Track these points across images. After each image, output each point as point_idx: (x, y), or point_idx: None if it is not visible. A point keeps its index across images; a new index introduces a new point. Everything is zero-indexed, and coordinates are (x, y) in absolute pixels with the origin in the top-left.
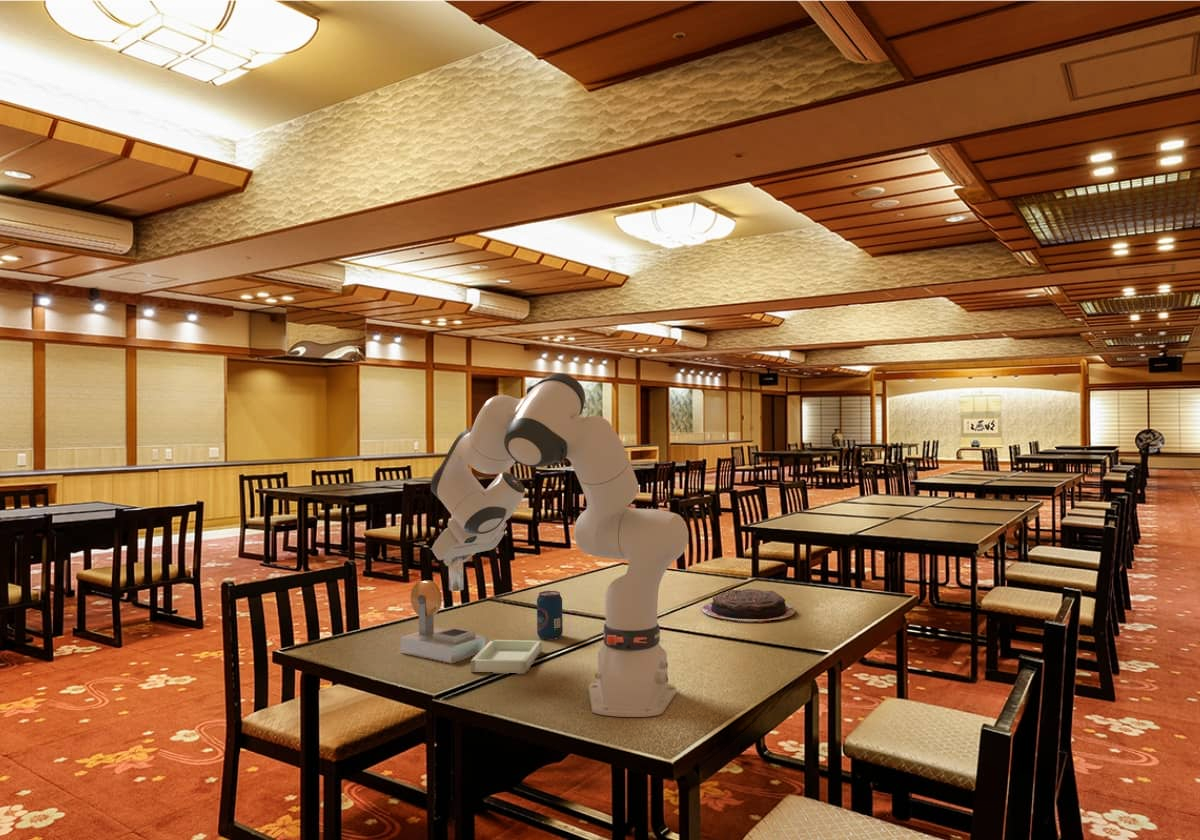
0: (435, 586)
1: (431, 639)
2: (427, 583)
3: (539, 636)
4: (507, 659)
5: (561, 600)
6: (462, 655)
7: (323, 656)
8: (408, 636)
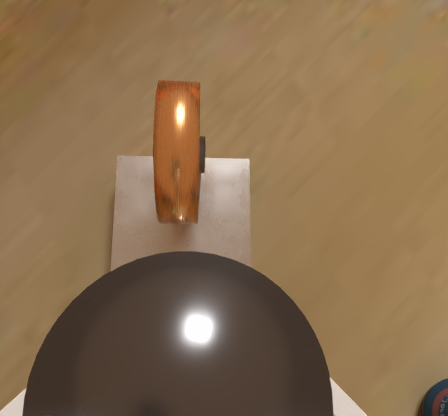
0: (185, 186)
1: (139, 252)
2: (157, 155)
3: (424, 401)
4: None
5: None
6: None
7: (13, 37)
8: (132, 170)
